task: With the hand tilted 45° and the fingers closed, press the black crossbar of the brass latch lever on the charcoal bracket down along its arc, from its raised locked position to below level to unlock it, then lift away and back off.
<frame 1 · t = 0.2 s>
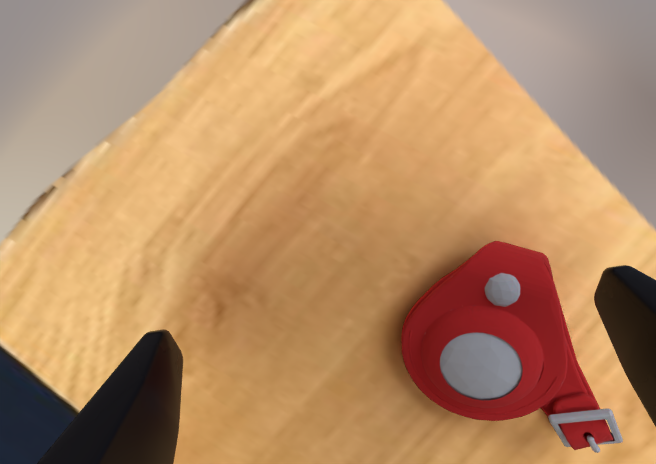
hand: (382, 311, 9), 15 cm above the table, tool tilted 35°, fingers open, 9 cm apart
tracker holder: (495, 351, 25), on the table
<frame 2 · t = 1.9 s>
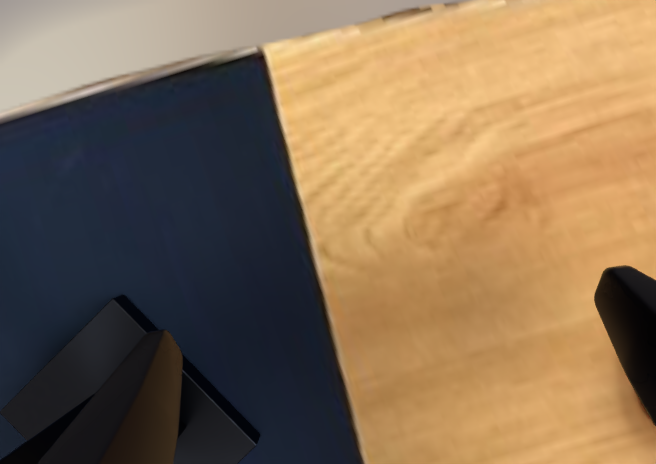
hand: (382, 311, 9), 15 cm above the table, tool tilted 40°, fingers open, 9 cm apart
latch bracket: (137, 418, 25), on the table
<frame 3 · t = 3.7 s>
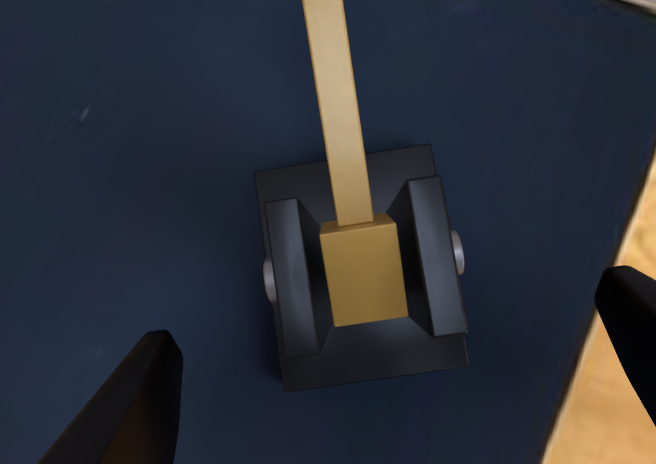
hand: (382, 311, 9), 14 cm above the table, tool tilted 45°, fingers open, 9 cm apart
latch lever: (334, 82, 13), point 10 cm above the table, hinge at 14.0°
latch bracket: (358, 266, 23), on the table
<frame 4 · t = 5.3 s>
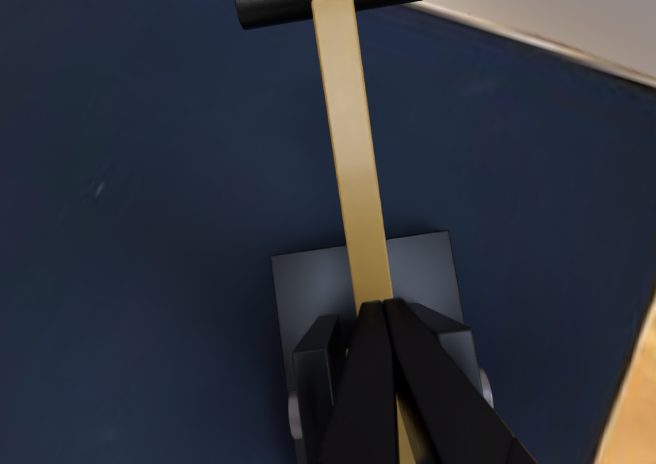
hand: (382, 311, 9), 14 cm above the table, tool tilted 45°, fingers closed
latch lever: (362, 224, 13), point 10 cm above the table, hinge at 14.0°
latch bracket: (373, 350, 22), on the table
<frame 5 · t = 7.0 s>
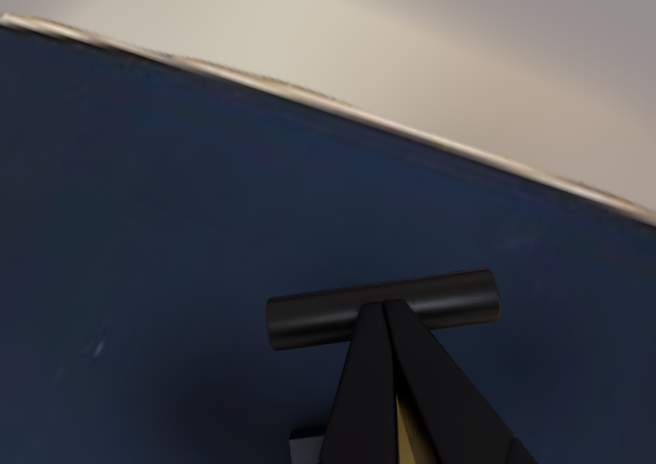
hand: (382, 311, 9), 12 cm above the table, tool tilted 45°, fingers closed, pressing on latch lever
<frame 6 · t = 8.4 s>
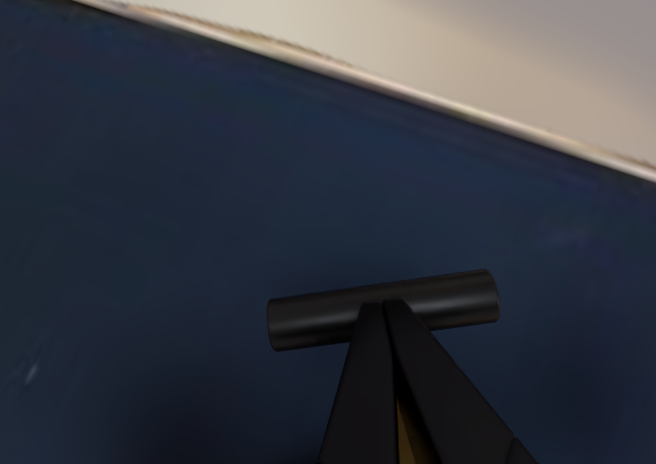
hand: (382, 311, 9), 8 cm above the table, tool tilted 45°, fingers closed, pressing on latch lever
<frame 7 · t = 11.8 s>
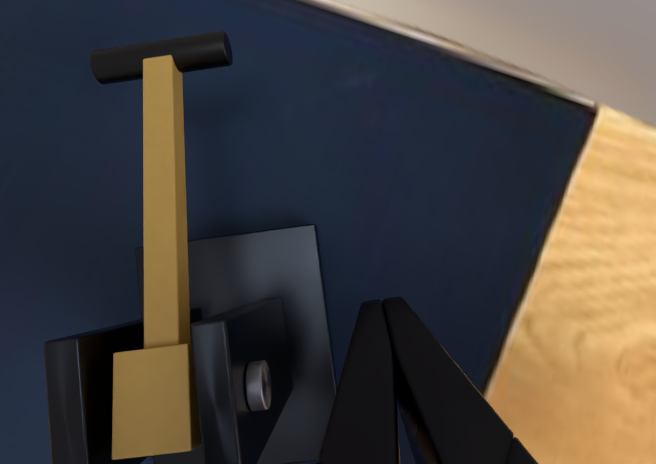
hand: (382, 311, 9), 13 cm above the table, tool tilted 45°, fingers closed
latch lever: (165, 219, 15), point 8 cm above the table, hinge at -10.3°
latch bracket: (242, 345, 22), on the table
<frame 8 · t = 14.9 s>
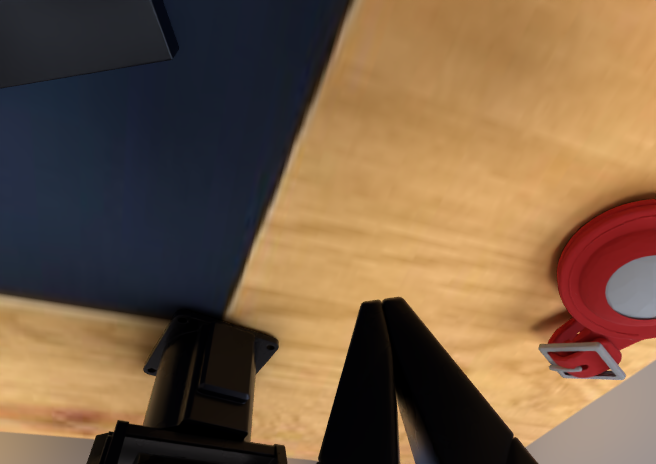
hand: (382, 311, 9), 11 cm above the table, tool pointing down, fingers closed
tracker holder: (604, 271, 25), on the table
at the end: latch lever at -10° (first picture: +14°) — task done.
